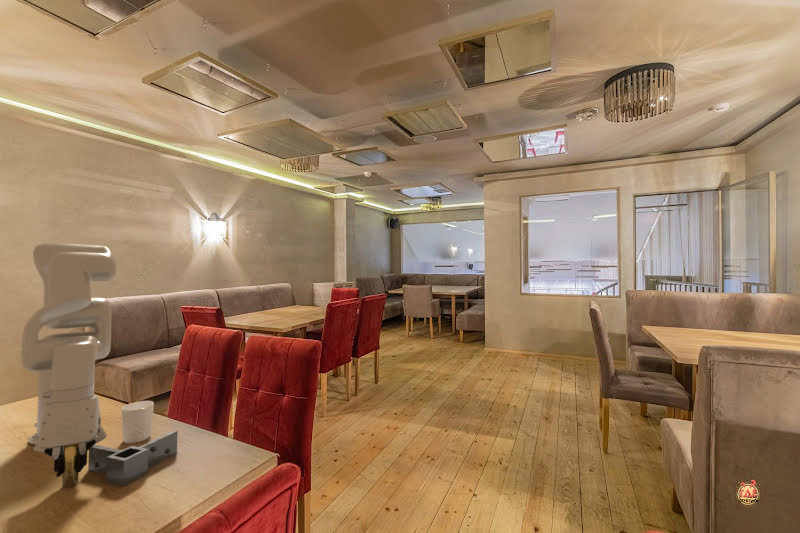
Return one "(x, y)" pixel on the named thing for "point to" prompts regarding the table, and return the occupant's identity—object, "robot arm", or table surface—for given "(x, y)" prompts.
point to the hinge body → (130, 459)
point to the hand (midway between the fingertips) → (70, 470)
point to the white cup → (137, 421)
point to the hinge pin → (70, 466)
